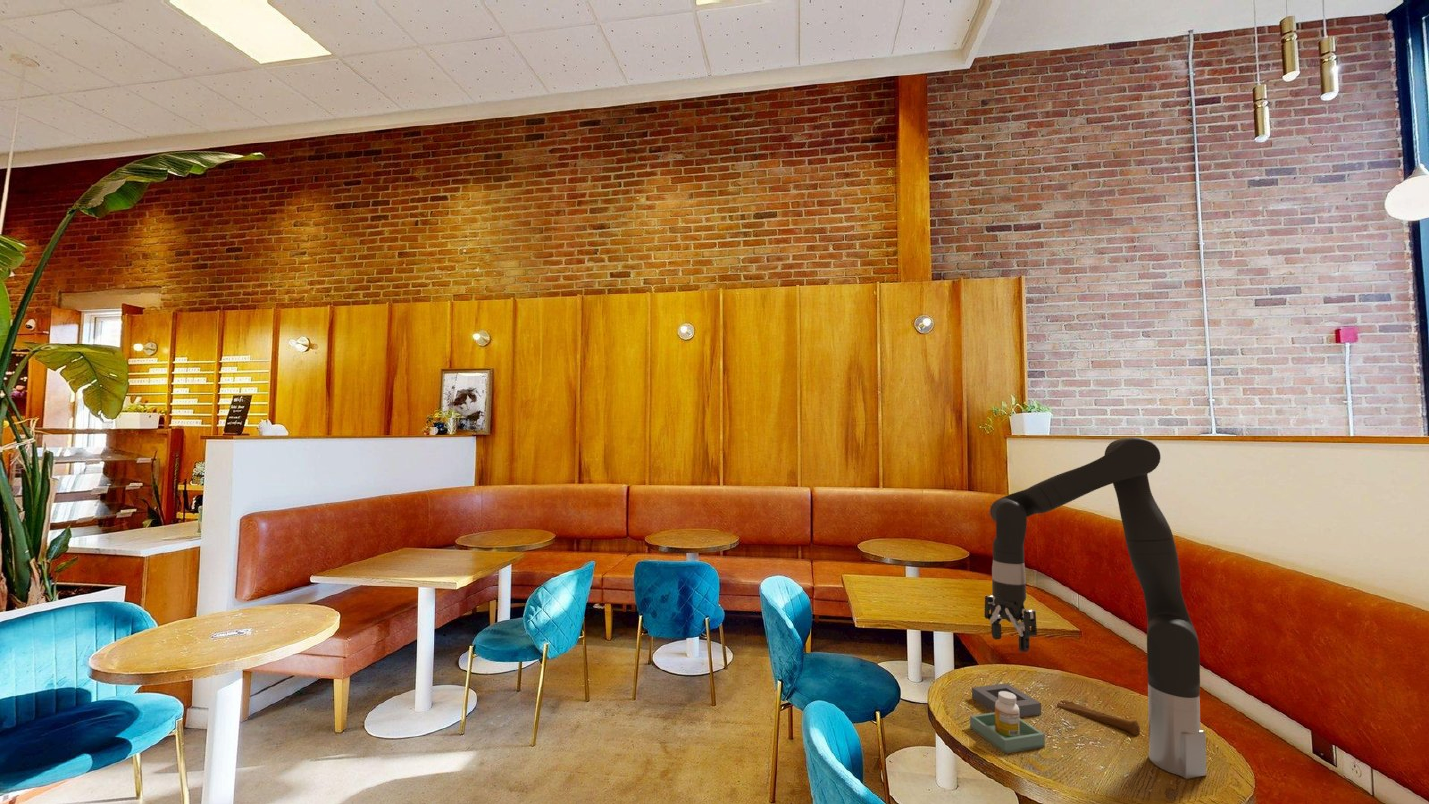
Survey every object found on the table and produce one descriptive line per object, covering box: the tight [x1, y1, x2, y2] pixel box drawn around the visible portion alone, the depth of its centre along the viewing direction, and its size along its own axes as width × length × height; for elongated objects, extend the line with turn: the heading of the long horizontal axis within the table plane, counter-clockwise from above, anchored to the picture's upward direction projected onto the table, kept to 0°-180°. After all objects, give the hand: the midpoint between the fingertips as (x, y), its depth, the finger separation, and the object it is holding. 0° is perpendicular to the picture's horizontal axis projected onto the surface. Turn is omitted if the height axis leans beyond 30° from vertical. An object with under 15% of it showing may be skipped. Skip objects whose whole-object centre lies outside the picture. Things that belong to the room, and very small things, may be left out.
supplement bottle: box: [995, 691, 1019, 738], centre depth 138 cm, size 5×5×10 cm
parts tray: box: [969, 712, 1046, 754], centre depth 138 cm, size 12×12×3 cm
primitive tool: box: [1056, 699, 1141, 736], centre depth 148 cm, size 19×6×4 cm, turn 36°
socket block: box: [971, 682, 1042, 719], centre depth 153 cm, size 12×12×3 cm
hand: (1009, 644), depth 139 cm, fingers open, 8 cm apart
